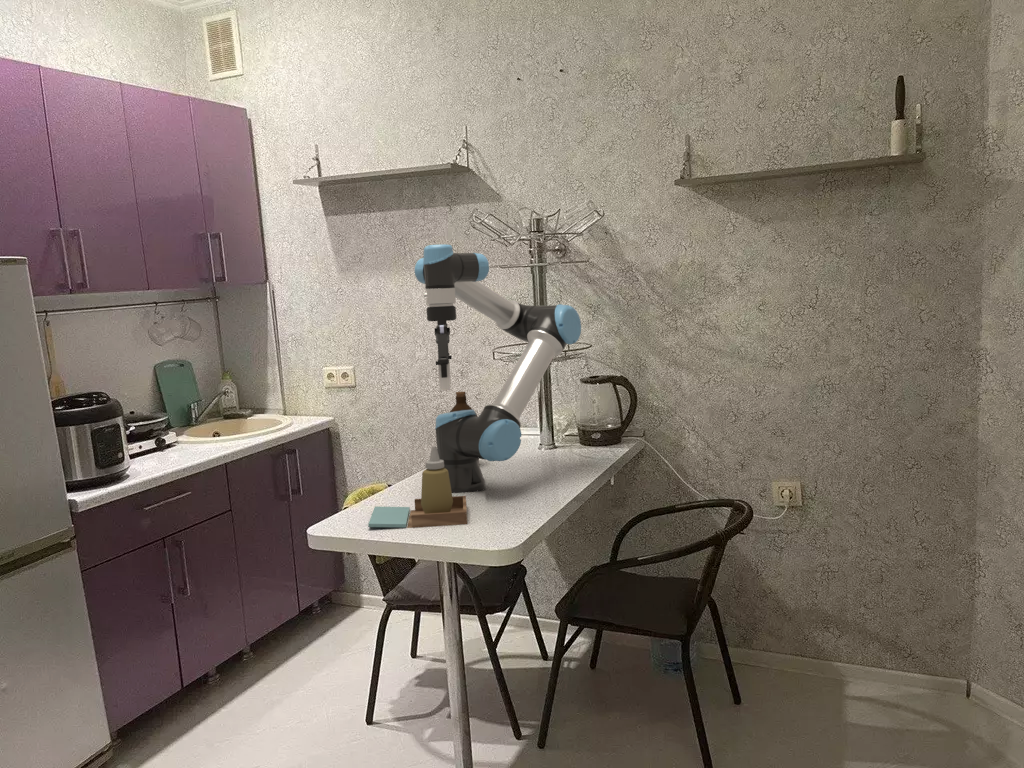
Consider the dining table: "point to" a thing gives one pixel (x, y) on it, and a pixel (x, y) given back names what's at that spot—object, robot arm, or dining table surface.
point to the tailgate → (389, 517)
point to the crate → (439, 515)
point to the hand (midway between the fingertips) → (445, 387)
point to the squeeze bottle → (436, 486)
